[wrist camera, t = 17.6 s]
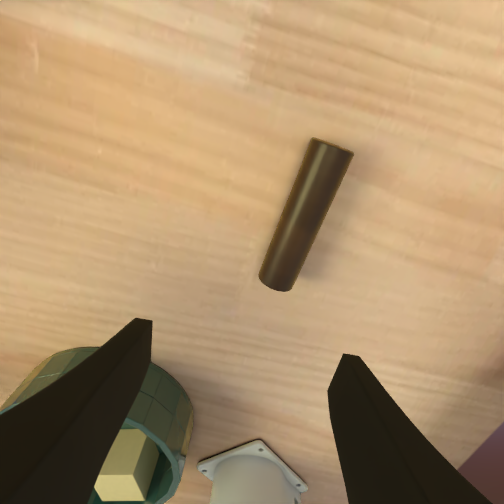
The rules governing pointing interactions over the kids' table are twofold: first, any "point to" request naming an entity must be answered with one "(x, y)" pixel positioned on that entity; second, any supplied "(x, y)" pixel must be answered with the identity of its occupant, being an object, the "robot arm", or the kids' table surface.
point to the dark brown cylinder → (304, 213)
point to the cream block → (128, 467)
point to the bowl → (132, 418)
